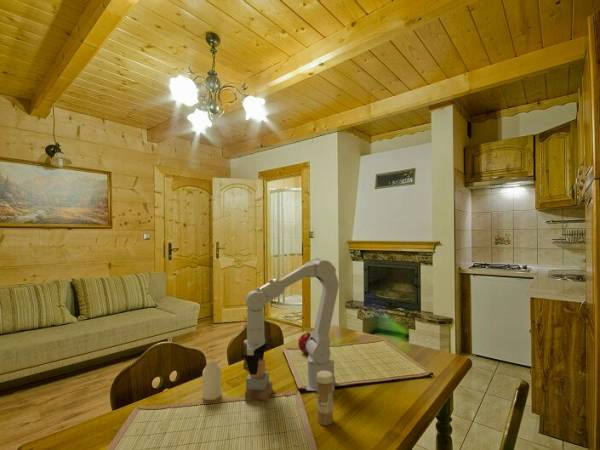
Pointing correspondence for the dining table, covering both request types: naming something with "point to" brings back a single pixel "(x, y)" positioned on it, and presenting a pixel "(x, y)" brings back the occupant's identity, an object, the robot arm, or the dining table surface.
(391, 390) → the dining table surface
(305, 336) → the christmas ornament
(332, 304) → the robot arm
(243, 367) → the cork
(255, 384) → the slate-grey block
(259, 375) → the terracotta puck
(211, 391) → the cream domed cylinder
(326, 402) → the sprinkles bottle
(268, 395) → the walnut slab
